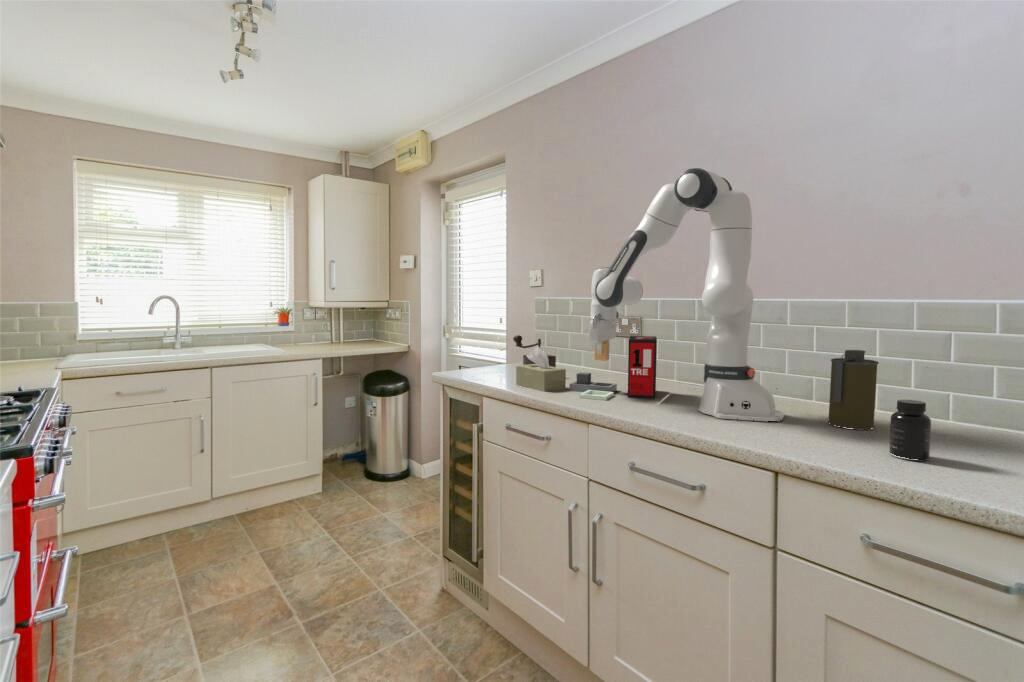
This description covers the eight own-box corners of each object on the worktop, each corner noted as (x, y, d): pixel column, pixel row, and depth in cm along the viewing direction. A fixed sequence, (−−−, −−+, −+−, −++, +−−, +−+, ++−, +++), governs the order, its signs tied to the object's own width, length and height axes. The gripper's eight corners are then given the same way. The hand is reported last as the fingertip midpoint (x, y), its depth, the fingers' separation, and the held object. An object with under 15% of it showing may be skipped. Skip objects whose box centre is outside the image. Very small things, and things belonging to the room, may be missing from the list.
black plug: (590, 389, 186) (591, 373, 185) (587, 391, 182) (587, 374, 182) (580, 388, 188) (580, 372, 187) (576, 390, 184) (576, 373, 184)
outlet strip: (616, 392, 184) (616, 383, 183) (609, 395, 177) (610, 387, 176) (577, 388, 191) (577, 380, 190) (569, 392, 184) (569, 383, 183)
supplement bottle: (911, 451, 113) (914, 398, 112) (937, 461, 106) (941, 404, 105) (880, 452, 112) (884, 398, 111) (905, 462, 106) (909, 405, 105)
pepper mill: (541, 374, 225) (541, 333, 224) (556, 377, 216) (556, 335, 214) (511, 377, 217) (511, 335, 216) (525, 381, 208) (525, 336, 206)
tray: (613, 397, 174) (614, 392, 174) (605, 402, 166) (605, 396, 166) (588, 394, 178) (588, 389, 178) (579, 399, 170) (579, 394, 170)
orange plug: (608, 359, 182) (609, 342, 181) (605, 360, 178) (606, 343, 178) (598, 358, 184) (598, 342, 183) (594, 359, 180) (595, 342, 180)
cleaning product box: (629, 390, 187) (630, 335, 185) (654, 391, 184) (656, 336, 182) (627, 399, 171) (628, 339, 169) (655, 400, 168) (656, 340, 167)
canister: (845, 419, 143) (849, 347, 141) (884, 428, 133) (888, 351, 131) (817, 422, 139) (821, 349, 137) (855, 432, 129) (859, 353, 127)
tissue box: (515, 386, 197) (515, 345, 196) (536, 383, 202) (536, 343, 201) (544, 393, 181) (544, 349, 180) (566, 391, 187) (566, 347, 185)
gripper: (602, 315, 169) (601, 357, 170) (620, 313, 187) (619, 351, 188) (584, 314, 172) (583, 355, 173) (603, 312, 190) (602, 350, 191)
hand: (602, 353), depth 181 cm, fingers closed on orange plug, 4 cm apart
